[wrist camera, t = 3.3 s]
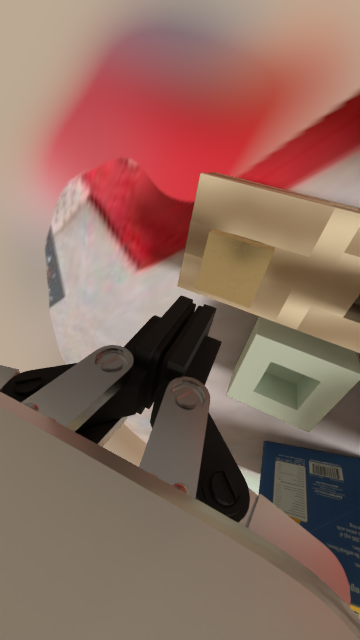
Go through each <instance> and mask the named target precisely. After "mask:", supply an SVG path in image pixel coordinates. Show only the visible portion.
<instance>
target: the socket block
mask: <svg viewBox="0 0 360 640" xmlns="http://www.w3.org/2000/svg"><path fill="white" fill-rule="evenodd" d="M212 229H216V230H220V231H223V232H226V233H230V234H233V235H236V236H239V237H243V238H246V239H249V240H253V241H256V242H259V243H262V244H266V245H269V246H272V247H275V251H274V253H273V256H272V258H271V260H270V263H269V265H268V267H267V269H266V272H265V274H264V276H263V279H262V281H261V283H260V286H259V288H258V290H257V292H256V295H255V297H254V299H253V302H252V304H251V306H250V308H248V307H245V306H242V305H239V304H237V303H234V302H231V301H228V300H226V299H223V298H220V297H217V296H215V295H212V294H209V293H206V292H204V291H201V290H198V289H195V286H196V282H197V278H198V274H199V271H200V267H201V263H202V259H203V255H204V251H205V247H206V243H207V239H208V235H209V231H211V230H212ZM178 287H181V288H184V289H186V290H189V291H192V292H195V293H197V294H200V295H203V296H206V297H208V298H211V299H214V300H216V301H219V302H222V303H225V304H227V305H230V306H233V307H235V308H238V309H241V310H244V311H246V312H249V313H252V314H254V315H257V316H260V317H263V318H265V319H268V320H271V321H274V322H276V323H279V324H282V325H284V326H287V327H290V328H293V329H295V330H298V331H301V332H303V333H306V334H309V335H312V336H314V337H317V338H320V339H323V340H325V341H328V342H331V343H333V344H336V345H339V346H342V347H344V348H347V349H350V350H352V351H355V352H358V353H360V297H359V295H360V208H356V207H352V206H348V205H344V204H340V203H336V202H332V201H328V200H324V199H320V198H316V197H312V196H308V195H304V194H300V193H296V192H292V191H288V190H284V189H280V188H276V187H272V186H268V185H264V184H260V183H256V182H252V181H248V180H244V179H240V178H236V177H232V176H228V175H224V174H220V173H201V174H200V179H199V183H198V188H197V193H196V198H195V203H194V208H193V212H192V217H191V222H190V227H189V232H188V237H187V242H186V247H185V252H184V256H183V261H182V266H181V271H180V276H179V281H178Z"/></svg>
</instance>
